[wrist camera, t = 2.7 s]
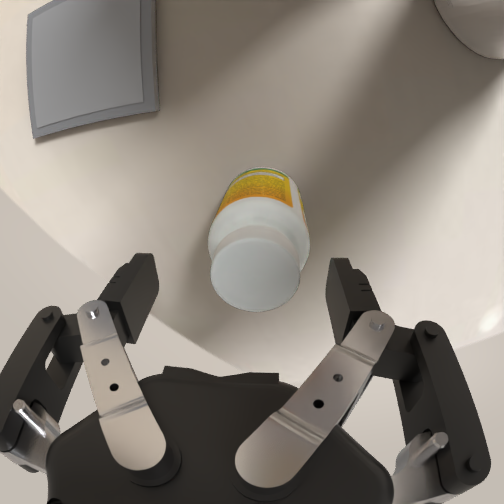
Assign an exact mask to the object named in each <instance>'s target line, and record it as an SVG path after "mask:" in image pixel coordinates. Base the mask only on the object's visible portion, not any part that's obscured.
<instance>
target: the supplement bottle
mask: <svg viewBox="0 0 504 504" xmlns="http://www.w3.org/2000/svg"><path fill="white" fill-rule="evenodd" d="M208 250H209V255H210V258H211V260H212V264H211V269H210V277H211V282H212V285H213V287H214V289H215V291H216V292H217V294H218V295H219V296H220V297H221V298H222V299H223V300H224V301H225V302H227V303H228V304H230V305H231V306H233V307H235V308H238V309H241V310H245V311H250V312H262V311H268V310H272V309H275V308H277V307H279V306H281V305H283V304H285V303H286V302H287V301H288V300H289V299H291V298H292V296H293V295H294V294H295V292H296V290H297V288H298V285H299V281H300V271H301V270H302V269H303V267H304V265H305V264H306V261H307V259H308V255H309V250H310V239H309V232H308V227H307V222H306V217H305V213H304V208H303V203H302V199H301V195H300V192H299V189H298V187H297V185H296V184H295V182H294V181H293V180H292V179H291V178H290V177H289V176H288V175H286V174H285V173H284V172H282V171H280V170H277V169H274V168H269V167H256V168H251V169H248V170H246V171H244V172H242V173H241V174H239V175H238V176H237V177H236V178H235V179H234V180H233V181H232V183H231V184H230V186H229V188H228V190H227V192H226V194H225V196H224V198H223V201H222V203H221V205H220V207H219V210H218V212H217V214H216V216H215V218H214V221H213V223H212V225H211V228H210V231H209V236H208Z"/></svg>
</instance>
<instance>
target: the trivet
mask: <svg viewBox="0 0 504 504" xmlns="http://www.w3.org/2000/svg"><path fill="white" fill-rule="evenodd" d="M26 64H27V87H28V100H29V110H30V119H31V127H32V134H33V139H34V138H37V137H41V136H44V135H47V134H51V133H54V132H58V131H61V130H65V129H69V128H73V127H77V126H81V125H85V124H89V123H94V122H98V121H103V120H108V119H113V118H118V117H123V116H129V115H135V114H141V113H147V112H154V111H159V110H160V107H159V93H158V77H157V56H156V0H53V1H51V2H49V3H47V4H45V5H44V6H42V7H40V8H38V9H37V10H35V11H33V12H32V13H30V14H28V20H27V42H26Z"/></svg>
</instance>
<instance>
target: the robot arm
mask: <svg viewBox="0 0 504 504" xmlns="http://www.w3.org/2000/svg"><path fill="white" fill-rule="evenodd" d="M434 2H435V5H436V7H437V9H438V11H439V13H440V15H441V16H442V18H443V20H444V21H445V23H446V24H447V26H448V27H449V28H450V30H451V31H452V32H453V33H454V34H455V36H456V37H457V38H458V39H459V40H460V41H461V42H462V43H463V44H465V45H466V46H467V47H468V48H469V49H471V50H472V51H474V52H475V53H477V54H479V55H481V56H484V57H486V58H492V59H504V0H434ZM109 282H110V283H108V284H107V286H106V287H105V289H104V290H103V292H102V293H101V295H100V297H99V298H98V299H97V300H93V301H89V302H87V303H85V304H84V305H83V306H81V307H80V309H79V310H78V312H77V314H69V315H63V314H62V312H61V309H60V308H59V307H57V306H49V307H46V308H44V309H42V310H41V311H40V312H38V314H37V315H36V316H35V318H34V319H33V321H32V322H31V324H30V325H29V327H28V328H27V330H26V331H25V333H24V335H23V336H22V338H21V339H20V341H19V343H18V344H17V346H16V348H15V349H14V351H13V353H12V354H11V356H10V358H9V360H8V361H7V363H6V365H5V366H4V368H3V370H2V372H1V374H0V453H2V454H3V455H4V456H5V457H7V458H8V459H10V460H11V461H12V462H14V463H16V464H18V465H19V466H21V467H22V468H24V469H25V470H27V471H28V472H32V473H36V472H39V471H41V472H43V473H45V474H47V478H48V501H47V504H442V503H444V502H446V501H448V500H450V499H452V498H454V497H456V496H458V495H460V494H462V493H463V492H465V491H467V490H469V489H471V488H473V487H474V486H476V485H478V484H479V483H481V482H482V481H484V479H485V478H486V477H487V476H488V474H489V471H490V468H491V459H490V455H489V451H488V447H487V443H486V440H485V436H484V433H483V429H482V426H481V423H480V419H479V417H478V413H477V410H476V407H475V404H474V402H473V399H472V396H471V393H470V390H469V388H468V385H467V382H466V380H465V377H464V375H463V372H462V370H461V367H460V365H459V362H458V360H457V357H456V355H455V353H454V351H453V348H452V346H451V344H450V341H449V339H448V337H447V335H446V333H445V331H444V329H443V328H442V327H441V326H440V325H438V324H437V323H435V322H432V321H421V322H419V323H417V325H416V326H415V329H409V328H404V327H399V326H396V325H395V323H394V320H393V319H392V318H391V317H390V316H389V315H388V314H386V313H384V312H382V311H381V309H380V307H379V304H378V302H377V300H376V297H375V295H374V293H373V291H372V288H371V286H370V285H369V281H368V279H367V277H366V275H365V274H363V273H362V272H361V271H360V270H359V269H352V266H351V264H350V261H349V259H348V258H331V260H330V265H329V271H328V277H327V283H326V302H327V306H328V311H329V315H330V320H331V324H332V329H333V333H334V338H335V343H336V344H335V345H334V346H333V348H332V349H331V350H330V351H329V353H328V354H327V355H326V356H325V358H324V359H323V360H322V361H321V363H320V364H319V365H318V366H317V368H316V369H315V370H314V371H313V372H312V374H311V375H310V376H309V377H308V378H307V380H306V381H305V382H304V383H303V384H302V385H301V387H300V388H299V389H298V388H297V387H294V386H292V385H290V384H287V383H284V382H280V381H279V373H253V372H249V373H243V374H237V375H230V376H224V377H217V376H214V375H210V374H207V373H203V372H201V371H197V370H194V369H190V368H180V367H171V366H165V367H164V370H163V373H162V374H157V375H153V376H149V377H146V378H144V379H142V380H140V381H138V379H137V377H136V375H135V372H134V370H133V368H132V365H131V363H130V361H129V359H128V356H127V354H126V352H125V350H124V346H125V344H126V343H131V344H136V341H137V339H138V337H139V334H140V332H141V330H142V328H143V326H144V323H145V321H146V318H147V317H148V314H149V312H150V310H151V308H152V305H153V303H154V301H155V299H156V297H157V295H158V291H159V280H158V275H157V271H156V266H155V261H154V257H153V255H152V254H151V253H136V254H135V255H134V257H133V258H132V259H131V261H130V262H129V263H126V264H124V265H123V266H122V267H120V268H119V269H118V270H117V271H116V273H115V274H114V276H113V277H112V279H111V280H110V281H109ZM51 351H52V353H53V354H54V356H53V358H52V360H51V362H50V364H49V366H48V368H47V370H46V369H45V361H46V359H47V357H48V355H49V353H50V352H51ZM83 362H84V365H85V369H86V372H87V376H88V379H89V383H90V387H91V390H92V393H93V397H94V400H95V403H96V406H97V410H96V411H95V412H93V413H92V414H91V415H89V416H87V417H86V418H85V419H83V420H81V421H80V422H78V423H77V424H75V425H74V426H72V427H71V428H69V429H68V430H66V431H65V432H63V433H62V434H60V427H59V425H58V423H59V420H60V417H61V415H62V412H63V409H64V406H65V404H66V401H67V399H68V397H69V394H70V392H71V389H72V387H73V384H74V382H75V379H76V377H77V375H78V372H79V370H80V368H81V365H82V363H83ZM373 376H379V377H384V378H389V379H393V383H394V387H395V392H396V396H397V401H398V406H399V411H400V415H401V420H402V426H403V431H404V437H405V443H406V447H405V448H403V449H402V450H401V452H400V453H399V454H398V456H397V459H396V468H395V472H394V474H393V476H390V474H389V472H388V471H387V470H386V468H385V467H384V466H383V465H382V464H381V463H380V462H378V461H377V460H376V459H375V458H374V457H373V456H372V455H371V454H369V453H368V452H367V451H366V450H365V449H364V448H363V447H362V446H361V445H360V444H358V443H357V442H356V441H355V440H354V439H353V438H352V437H351V436H350V435H349V434H348V433H347V432H346V431H345V430H344V429H342V426H343V425H344V423H345V422H346V420H347V419H348V417H349V415H350V414H351V412H352V410H353V409H354V407H355V405H356V404H357V402H358V401H359V399H360V397H361V396H362V394H363V392H364V391H365V389H366V387H367V386H368V384H369V382H370V381H371V379H372V377H373Z"/></svg>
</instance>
